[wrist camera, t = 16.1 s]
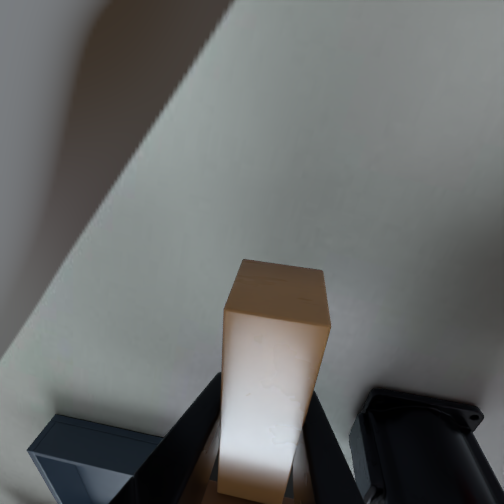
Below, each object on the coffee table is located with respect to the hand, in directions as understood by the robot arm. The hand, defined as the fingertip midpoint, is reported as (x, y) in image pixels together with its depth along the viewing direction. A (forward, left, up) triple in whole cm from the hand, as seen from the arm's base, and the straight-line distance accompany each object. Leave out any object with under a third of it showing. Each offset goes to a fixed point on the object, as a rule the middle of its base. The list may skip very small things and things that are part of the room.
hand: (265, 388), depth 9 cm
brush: (0, +2, -1) cm, 3 cm away
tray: (+12, +28, -7) cm, 32 cm away
